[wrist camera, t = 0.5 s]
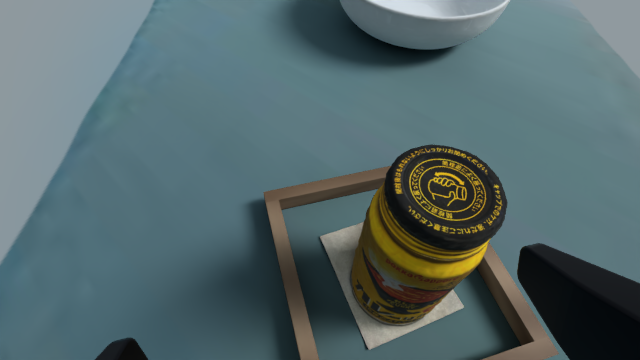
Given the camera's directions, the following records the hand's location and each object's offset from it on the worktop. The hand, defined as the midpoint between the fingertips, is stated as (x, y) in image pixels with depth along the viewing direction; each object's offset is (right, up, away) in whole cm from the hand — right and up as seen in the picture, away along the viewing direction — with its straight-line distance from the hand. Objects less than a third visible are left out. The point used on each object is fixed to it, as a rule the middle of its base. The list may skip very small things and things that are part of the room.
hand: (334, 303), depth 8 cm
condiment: (+5, -4, +17) cm, 18 cm away
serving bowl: (+11, +23, +38) cm, 46 cm away
